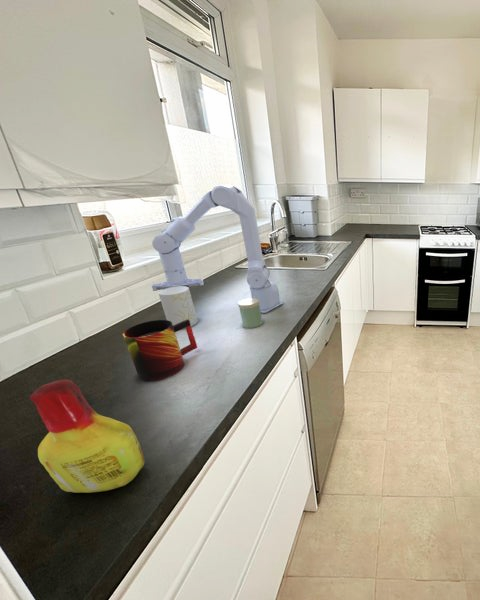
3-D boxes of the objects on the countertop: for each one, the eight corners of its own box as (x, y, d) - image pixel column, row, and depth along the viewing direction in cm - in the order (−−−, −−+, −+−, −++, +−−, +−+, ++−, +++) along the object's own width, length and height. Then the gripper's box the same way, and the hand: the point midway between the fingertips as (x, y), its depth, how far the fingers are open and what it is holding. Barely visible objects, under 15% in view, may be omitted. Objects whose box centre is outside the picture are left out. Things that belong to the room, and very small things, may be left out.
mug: (199, 350, 89) (188, 312, 85) (171, 379, 76) (157, 336, 72) (163, 352, 88) (150, 313, 84) (129, 382, 76) (112, 339, 71)
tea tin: (252, 318, 109) (248, 296, 106) (267, 321, 107) (263, 299, 104) (238, 326, 103) (233, 303, 100) (253, 329, 101) (248, 306, 98)
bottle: (47, 507, 47) (-20, 402, 40) (79, 470, 53) (26, 373, 46) (135, 494, 49) (88, 391, 42) (157, 460, 55) (118, 364, 48)
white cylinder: (183, 330, 100) (173, 295, 96) (162, 328, 102) (151, 293, 97) (203, 319, 108) (194, 287, 103) (183, 317, 109) (174, 285, 105)
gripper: (144, 275, 99) (157, 314, 104) (197, 270, 105) (207, 307, 110) (150, 269, 105) (162, 306, 110) (200, 265, 111) (209, 300, 116)
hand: (184, 306), depth 110 cm, fingers closed
